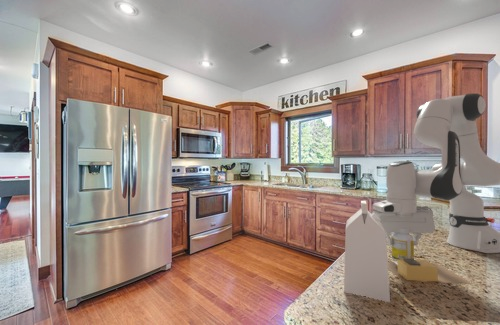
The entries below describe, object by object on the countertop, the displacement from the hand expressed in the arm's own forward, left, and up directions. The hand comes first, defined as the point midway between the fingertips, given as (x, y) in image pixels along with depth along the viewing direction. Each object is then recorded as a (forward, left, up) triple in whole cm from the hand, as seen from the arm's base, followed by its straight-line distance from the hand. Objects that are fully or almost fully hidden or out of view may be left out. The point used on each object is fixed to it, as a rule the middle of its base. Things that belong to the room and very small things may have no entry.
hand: (402, 244), depth 77 cm
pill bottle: (0, 0, -6) cm, 6 cm away
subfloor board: (-4, +3, -9) cm, 10 cm away
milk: (+18, +12, -9) cm, 24 cm away
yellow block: (0, +7, -8) cm, 11 cm away
